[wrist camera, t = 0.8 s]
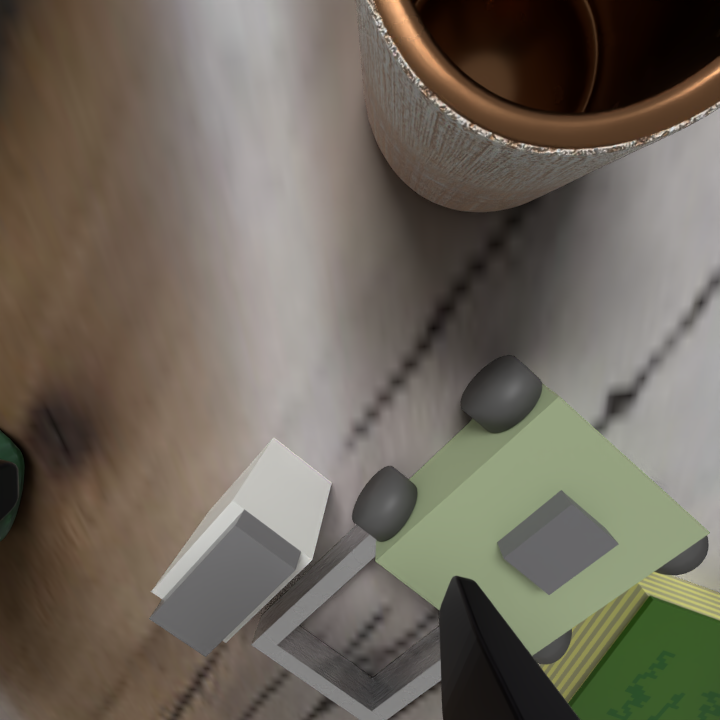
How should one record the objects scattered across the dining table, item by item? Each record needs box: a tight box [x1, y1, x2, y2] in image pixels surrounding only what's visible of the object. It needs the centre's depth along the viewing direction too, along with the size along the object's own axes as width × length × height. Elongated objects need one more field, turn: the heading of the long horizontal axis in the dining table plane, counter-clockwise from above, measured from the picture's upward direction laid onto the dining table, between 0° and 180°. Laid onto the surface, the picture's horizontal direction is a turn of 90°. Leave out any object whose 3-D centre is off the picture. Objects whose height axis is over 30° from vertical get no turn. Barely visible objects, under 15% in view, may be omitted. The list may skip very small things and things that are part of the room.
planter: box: [355, 0, 720, 212], centre depth 12 cm, size 11×11×10 cm
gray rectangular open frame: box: [251, 525, 441, 720], centre depth 23 cm, size 10×12×2 cm
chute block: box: [149, 438, 332, 657], centre depth 19 cm, size 4×7×7 cm, turn 140°
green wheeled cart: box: [352, 355, 710, 664], centre depth 19 cm, size 13×12×5 cm
